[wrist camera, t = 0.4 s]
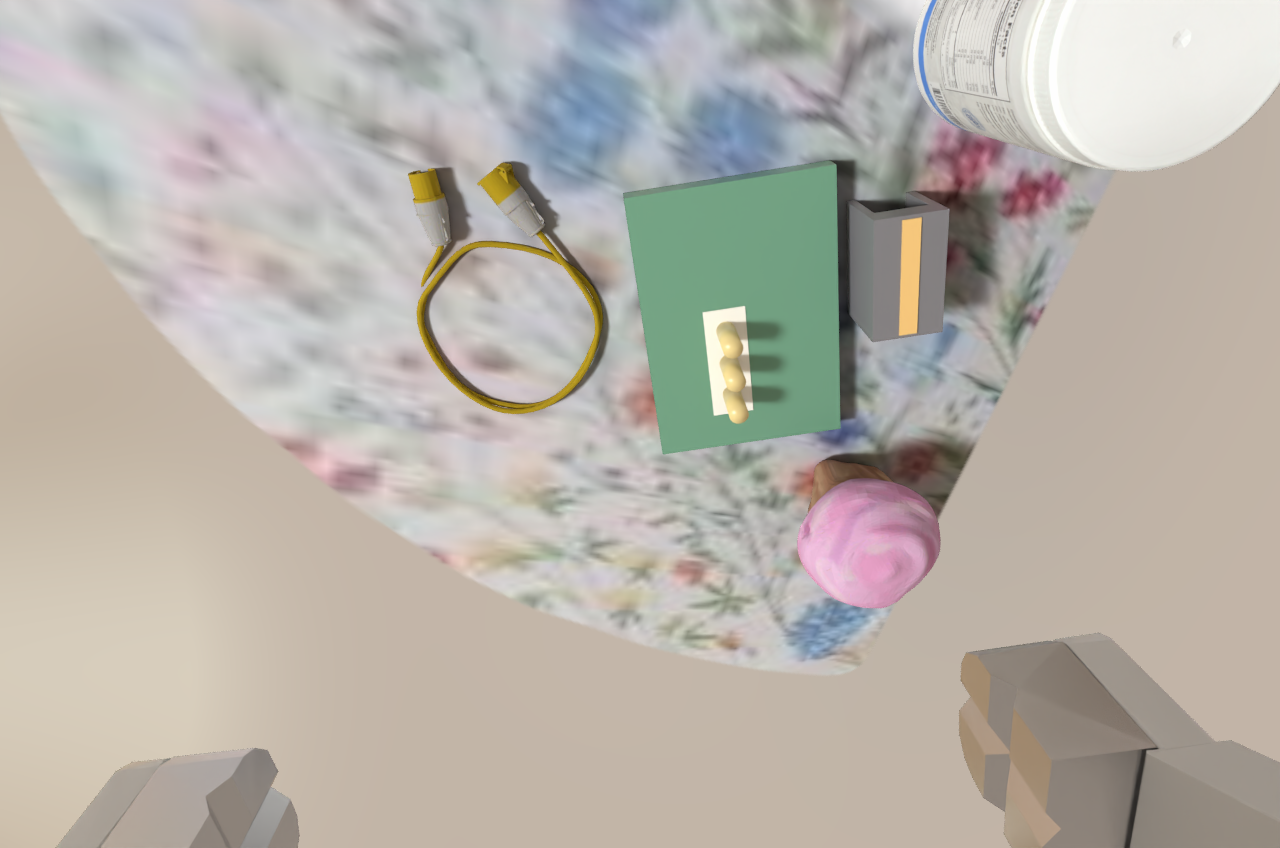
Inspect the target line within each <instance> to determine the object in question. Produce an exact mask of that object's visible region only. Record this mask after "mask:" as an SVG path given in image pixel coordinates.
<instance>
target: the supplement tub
mask: <svg viewBox="0 0 1280 848" xmlns="http://www.w3.org/2000/svg"><path fill="white" fill-rule="evenodd" d="M913 62H914V71H915V75H916V80H917V83H918V86H919V89H920V91H921V93H922V96H923V97H924V99H925V101H926V102H927V104H928V105H929V106H930V108H931V109H932V110H933V111H934V112H935V113H936V114H937V115H938V116H939V117H940V118H942V119H943V120H944V121H946V122H947V123H949V124H951V125H953V126H955V127H957V128H960V129H963V130H966V131H969V132H972V133H976V134H979V135H983V136H986V137H989V138H993V139H996V140H1000V141H1003V142H1006V143H1010V144H1013V145H1017V146H1020V147H1023V148H1027V149H1030V150H1034V151H1037V152H1040V153H1044V154H1047V155H1051V156H1054V157H1057V158H1061V159H1064V160H1068V161H1071V162H1074V163H1078V164H1082V165H1085V166H1089V167H1094V168H1100V169H1110V170H1122V171H1131V172H1132V171H1134V172H1136V171H1152V170H1158V169H1163V168H1167V167H1171V166H1174V165H1177V164H1180V163H1183V162H1185V161H1188V160H1190V159H1193V158H1195V157H1197V156H1199V155H1201V154H1203V153H1205V152H1207V151H1209V150H1210V149H1212V148H1214V147H1215V146H1217V145H1218V144H1220V143H1221V142H1223V141H1224V140H1226V139H1227V138H1228V137H1230V136H1231V135H1232V134H1234V133H1235V132H1236V131H1237V130H1238V129H1240V128H1241V127H1242V126H1243V125H1244V124H1245V123H1247V121H1249V120H1250V119H1251V118H1252V117H1253V116H1254V115H1255V113H1257V112H1258V110H1259V109H1260V108H1261V107H1262V106H1263V105H1264V104H1265V103H1266V102H1267V101H1268V99H1269V98H1270V97H1271V95H1272V94H1273V93H1274V91H1275V90H1276V88H1277V87H1278V86H1279V84H1280V0H926V2H925V4H924V6H923V9H922V11H921V14H920V17H919V20H918V23H917V27H916V31H915V37H914V46H913Z"/></svg>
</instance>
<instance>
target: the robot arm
mask: <svg viewBox="0 0 1280 848" xmlns="http://www.w3.org/2000/svg"><path fill="white" fill-rule="evenodd" d="M961 682H962V684H963V685H964V687H965V688H966V690H967V691H968V693H969V695H970V696H971V697H970V698H969V699H968V701H967V702H966V703H965V704H964V706H963V707H962V708H961V709H960V710H959V735H960V739H961V744H962V748H963V752H964V758H965V760H966V763H967V765H968V768H969V770H970V773H971V775H972V778H973V780H974V781H975V783H976V785H977V787H978V789H979V791H980V792H981V794H982V796H983V798H985V799H986V800H988V801H989V802H991V803H992V804H994V805H995V806H997V807H998V808H1000V809H1001V810H1003V811H1004V812H1005V823H1004V835H1005V837H1006V839H1007V840H1008V842H1009V844H1010V846H1011V847H1012V848H1280V762H1277V761H1275V760H1273V759H1271V758H1269V757H1266V756H1264V755H1262V754H1260V753H1258V752H1256V751H1253V750H1251V749H1249V748H1247V747H1245V746H1242V745H1240V744H1238V743H1236V742H1234V741H1231V740H1229V741H1221V742H1215V741H1214V740H1213V739H1212V738H1211V737H1210V736H1209V735H1208V734H1207V733H1206V732H1205V731H1204V730H1203V729H1202V728H1201V727H1200V726H1199V725H1198V724H1197V723H1196V722H1195V721H1194V720H1193V719H1192V718H1191V717H1190V716H1189V715H1188V714H1187V713H1186V712H1185V711H1184V710H1183V709H1182V708H1181V707H1180V706H1179V705H1178V704H1177V703H1176V702H1175V701H1174V700H1173V699H1172V698H1171V697H1170V696H1169V695H1168V694H1167V693H1166V692H1165V691H1164V690H1163V689H1162V688H1161V687H1160V686H1159V685H1158V684H1157V683H1156V682H1155V681H1154V680H1153V679H1152V678H1151V677H1150V676H1149V675H1148V674H1147V673H1146V672H1145V671H1144V670H1143V669H1142V668H1141V667H1139V665H1138V664H1137V663H1136V662H1135V661H1134V660H1133V659H1131V657H1130V656H1129V655H1128V654H1127V653H1126V652H1125V651H1124V650H1123V649H1122V648H1120V647H1119V646H1118V645H1117V644H1116V643H1115V642H1114V641H1113V640H1112V639H1111V638H1110V637H1107V636H1105V635H1103V634H1101V633H1094V634H1088V635H1081V636H1074V637H1068V638H1060V639H1055V640H1053V641H1044V642H1037V643H1030V644H1023V645H1016V646H1009V647H1001V648H995V649H988V650H981V651H973V652H967V653H966V654H965V656H964V658H963V661H962V663H961ZM277 773H278V770H277V768H276V766H275V764H274V762H273V760H272V758H271V756H270V754H269V752H268V751H267V750H264V749H258V748H250V749H241V750H232V751H222V752H213V753H204V754H194V755H185V756H177V757H173V758H169V759H159V760H149V761H138V762H131V763H130V764H128V765H126V766H124V767H123V768H121V769H119V770H117V771H116V772H115V773H114V774H113V776H112V777H111V778H110V779H109V781H108V782H107V783H106V784H105V786H104V787H103V788H102V789H101V791H100V792H99V793H98V795H97V796H96V797H95V798H94V800H93V801H92V802H91V803H90V805H89V806H88V807H87V809H86V810H85V811H84V812H83V814H82V815H81V816H80V817H79V819H78V820H77V821H76V823H75V824H74V825H73V826H72V828H71V829H70V830H69V831H68V833H67V834H66V835H65V836H64V838H63V839H62V840H61V842H60V843H59V844H58V846H57V847H56V848H298V842H299V827H298V819H297V814H296V812H295V809H294V807H293V804H292V802H291V800H290V799H289V798H288V797H286V796H285V795H283V794H282V793H280V792H278V791H277V790H276V789H274V788H272V787H271V786H272V784H273V782H274V779H275V777H276V775H277Z"/></svg>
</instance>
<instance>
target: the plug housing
mask: <svg viewBox="0 0 1280 848" xmlns="http://www.w3.org/2000/svg"><path fill="white" fill-rule="evenodd" d="M949 211H950V209H949V208H947V207H945V206H943V205H941V204H939V203H937V202H935V201H933V200H931V199H929V198H927V197H925V196H923V195H921V194H919V193H917V192H916V191H911V192H906V208H904V209H897V210H891V211H884V212H878V213H873V212H872V211H870V210H869V209H867V208H866V207H864V206H863V205H861V204H860V203H858V202H857V201H855V200H854V201H848V202H847V292H848V314H849V315H850V316H851V317H852V319H853V320H854V321H855V322H856V323H857V324H858V326H859V327H860V328H861V329H862V330H863V331H864V333H865V334H866V335H867V336H868V337H869V338H870V339H871V341H872V342H878V341H884V340H891V339H898V338H904V337H911V336H918V335H924V334H931V333H938V332H942V330H943V313H944V296H945V279H946V262H947V245H948V228H949Z"/></svg>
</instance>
